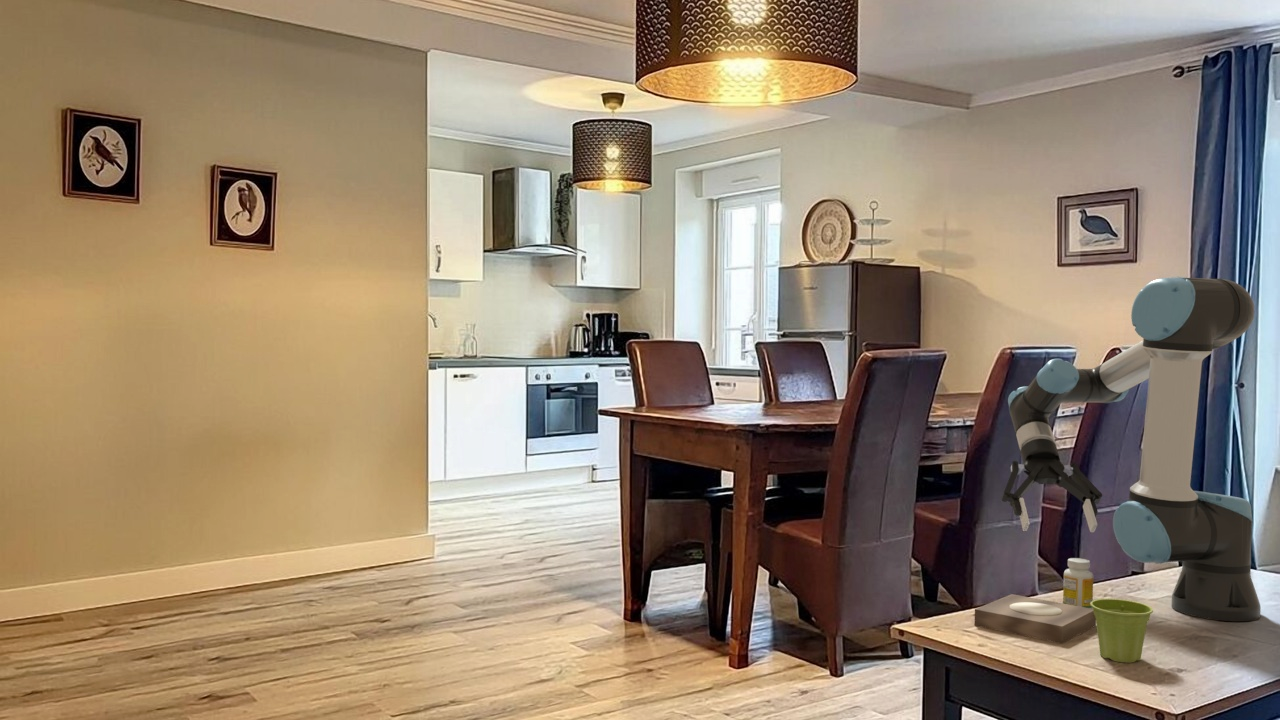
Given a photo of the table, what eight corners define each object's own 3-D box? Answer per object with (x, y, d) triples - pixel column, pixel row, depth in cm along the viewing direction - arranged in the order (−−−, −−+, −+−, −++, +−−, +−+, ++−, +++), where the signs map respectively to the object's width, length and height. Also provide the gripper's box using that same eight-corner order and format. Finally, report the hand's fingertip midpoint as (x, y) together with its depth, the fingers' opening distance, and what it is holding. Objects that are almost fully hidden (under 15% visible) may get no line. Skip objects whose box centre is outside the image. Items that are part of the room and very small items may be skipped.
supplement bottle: (1064, 610, 200) (1065, 561, 199) (1061, 604, 205) (1062, 556, 204) (1094, 613, 198) (1095, 563, 198) (1090, 606, 203) (1091, 558, 203)
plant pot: (1159, 668, 164) (1160, 615, 164) (1096, 664, 166) (1097, 611, 166) (1143, 651, 174) (1143, 600, 174) (1083, 647, 176) (1084, 597, 175)
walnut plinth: (1095, 625, 189) (1096, 608, 189) (1062, 643, 178) (1062, 625, 178) (1011, 609, 200) (1011, 593, 200) (974, 625, 189) (974, 608, 189)
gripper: (1091, 459, 228) (1116, 539, 213) (976, 457, 229) (994, 537, 215) (1100, 437, 222) (1127, 518, 208) (983, 435, 224) (1002, 516, 209)
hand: (1060, 528), depth 211 cm, fingers open, 13 cm apart
